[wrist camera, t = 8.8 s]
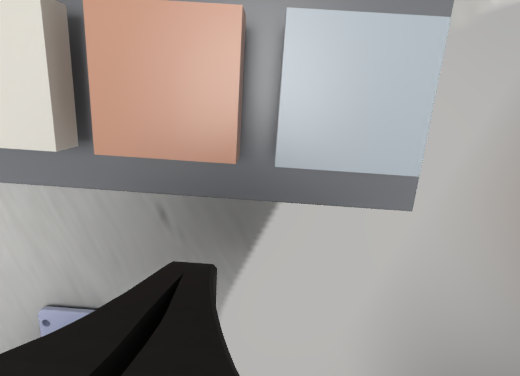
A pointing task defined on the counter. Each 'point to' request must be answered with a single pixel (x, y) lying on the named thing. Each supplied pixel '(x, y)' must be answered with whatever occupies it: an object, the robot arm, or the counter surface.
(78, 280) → the counter surface
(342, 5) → the key console
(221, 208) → the counter surface
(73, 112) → the ivory key
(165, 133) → the terracotta key
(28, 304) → the counter surface
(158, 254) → the counter surface
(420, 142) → the slate key
